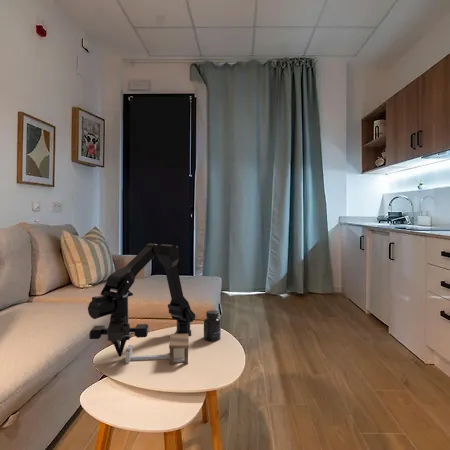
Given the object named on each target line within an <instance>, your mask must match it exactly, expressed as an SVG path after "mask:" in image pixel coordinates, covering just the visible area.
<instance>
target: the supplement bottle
mask: <svg viewBox="0 0 450 450" xmlns="http://www.w3.org/2000/svg"><path fill="white" fill-rule="evenodd" d="M219 316H220V315H219V310H212V309H211V310H206V315H205V318H204V320H203V340H204V341H206V342H211V343H212V342H218V341H220V340H221V332H222V330H221V329H222V327H221V326H222V321H221V319H220V318H219Z"/></svg>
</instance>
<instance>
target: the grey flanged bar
mask: <svg viewBox="0 0 450 450" xmlns="http://www.w3.org/2000/svg"><path fill="white" fill-rule="evenodd" d="M145 360H147V361H149V360H170V354H149V355H133V344H128V345H127V348H126V349H125V364H126V365H127V364H130V363H131V361H145ZM174 363H184V358H174Z"/></svg>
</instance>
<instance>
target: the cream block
mask: <svg viewBox="0 0 450 450" xmlns="http://www.w3.org/2000/svg"><path fill="white" fill-rule="evenodd" d="M174 358H184V348H177V349H174Z"/></svg>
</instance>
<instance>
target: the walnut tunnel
mask: <svg viewBox="0 0 450 450" xmlns="http://www.w3.org/2000/svg"><path fill="white" fill-rule="evenodd" d="M169 337H170V339H169V342H168V343H169V344H168V349H169V355H170V359H169V365H170V366H174V364H175V362H174V349H177V348H184V362H183V364H184V365H189V346H190V345H189V344H190V343H189V341H190V340H189V339H190V338H189V337H190V336H189V333H186V334H176V333H171V334H170V336H169Z"/></svg>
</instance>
